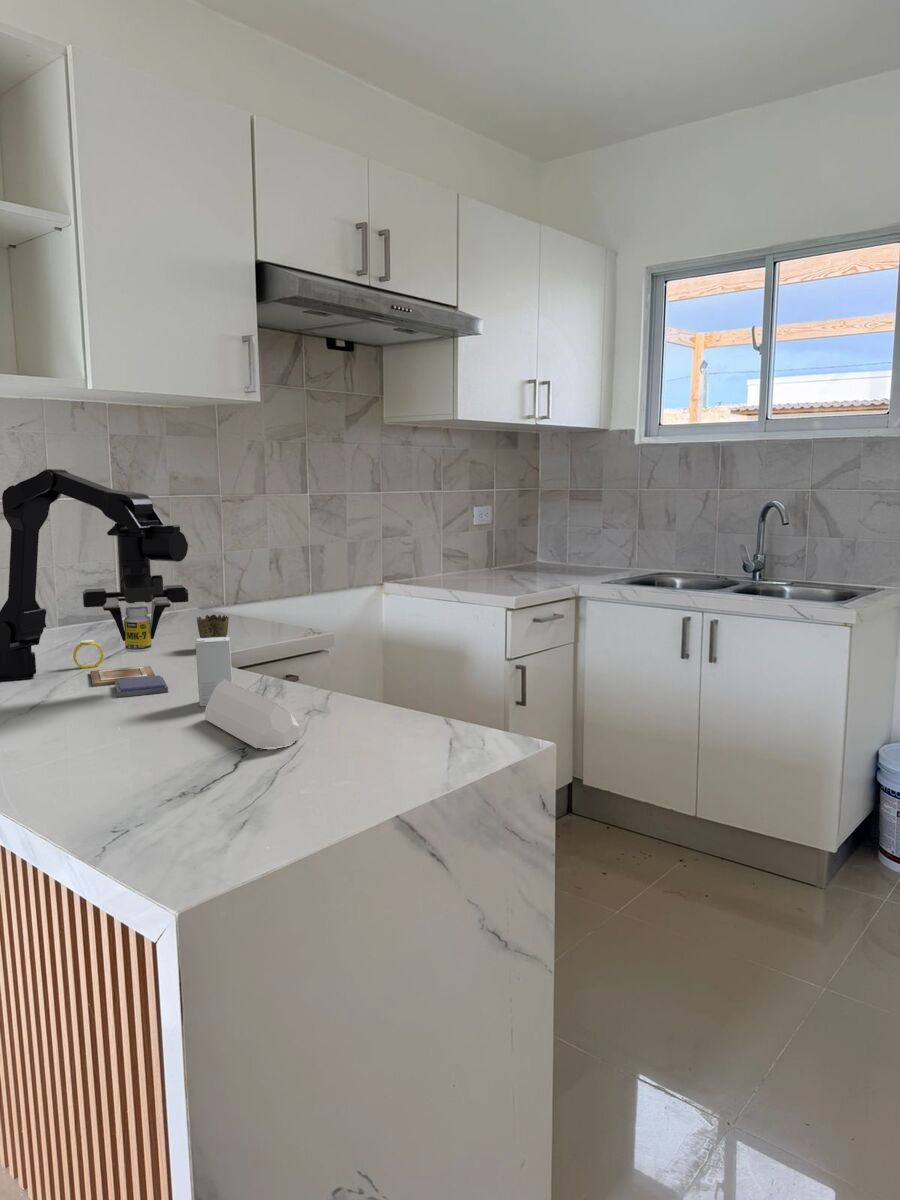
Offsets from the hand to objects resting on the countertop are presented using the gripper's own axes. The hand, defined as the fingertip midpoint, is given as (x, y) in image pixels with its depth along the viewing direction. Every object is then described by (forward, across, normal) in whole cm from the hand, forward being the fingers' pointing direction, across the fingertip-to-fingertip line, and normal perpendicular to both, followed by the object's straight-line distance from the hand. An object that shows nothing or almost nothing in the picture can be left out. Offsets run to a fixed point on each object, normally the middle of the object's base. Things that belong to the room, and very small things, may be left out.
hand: (138, 639), depth 162 cm
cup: (+10, +20, +33) cm, 40 cm away
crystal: (+10, +14, -37) cm, 40 cm away
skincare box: (+10, +12, -17) cm, 23 cm away
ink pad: (+10, 0, 0) cm, 10 cm away
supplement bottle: (+2, 0, 0) cm, 2 cm away
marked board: (+10, -2, +12) cm, 16 cm away
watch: (+10, -8, +25) cm, 29 cm away
